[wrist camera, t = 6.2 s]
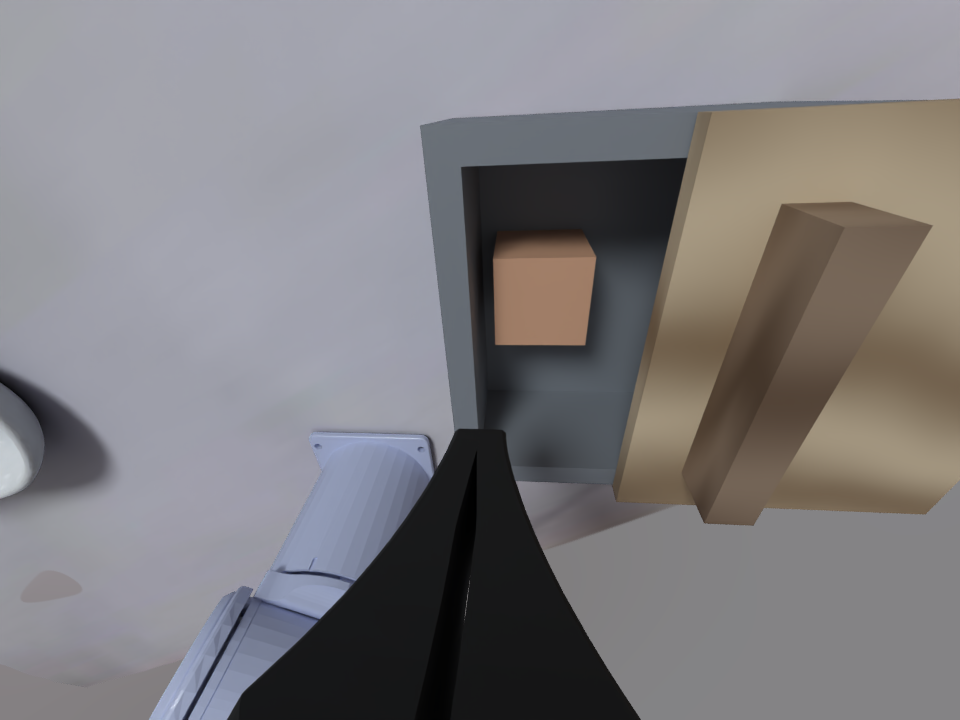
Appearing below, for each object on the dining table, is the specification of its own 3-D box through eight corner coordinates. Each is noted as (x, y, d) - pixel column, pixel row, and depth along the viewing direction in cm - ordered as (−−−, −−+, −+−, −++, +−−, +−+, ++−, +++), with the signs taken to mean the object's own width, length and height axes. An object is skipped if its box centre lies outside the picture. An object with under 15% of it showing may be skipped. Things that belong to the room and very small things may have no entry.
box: (683, 400, 22) (733, 488, 17) (472, 396, 23) (459, 478, 18) (780, 101, 14) (928, 100, 9) (452, 118, 15) (419, 125, 10)
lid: (908, 497, 16) (981, 570, 13) (612, 486, 17) (628, 551, 14) (1290, 82, 8) (1629, 72, 6) (698, 111, 9) (764, 114, 7)
